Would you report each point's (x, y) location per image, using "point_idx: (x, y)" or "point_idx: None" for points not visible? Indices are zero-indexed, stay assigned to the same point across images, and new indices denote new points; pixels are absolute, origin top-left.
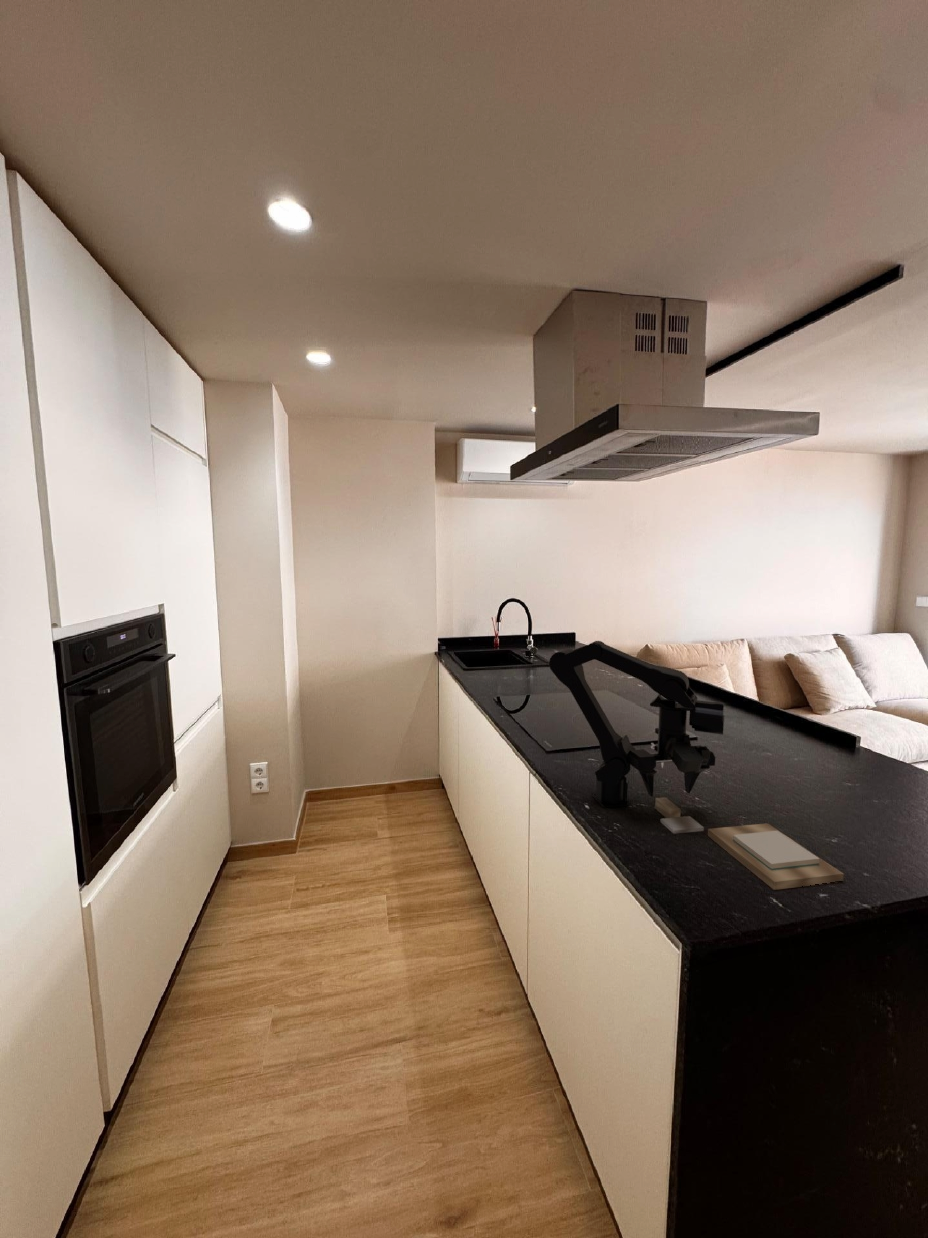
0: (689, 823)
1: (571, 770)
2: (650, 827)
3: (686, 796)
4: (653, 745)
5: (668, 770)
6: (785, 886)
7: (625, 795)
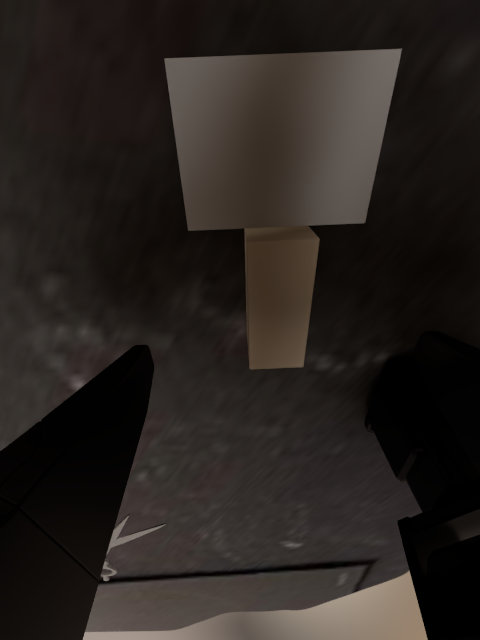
0: (234, 138)
1: (382, 516)
2: (456, 166)
3: None
4: (106, 576)
5: None
6: None
7: (402, 401)
